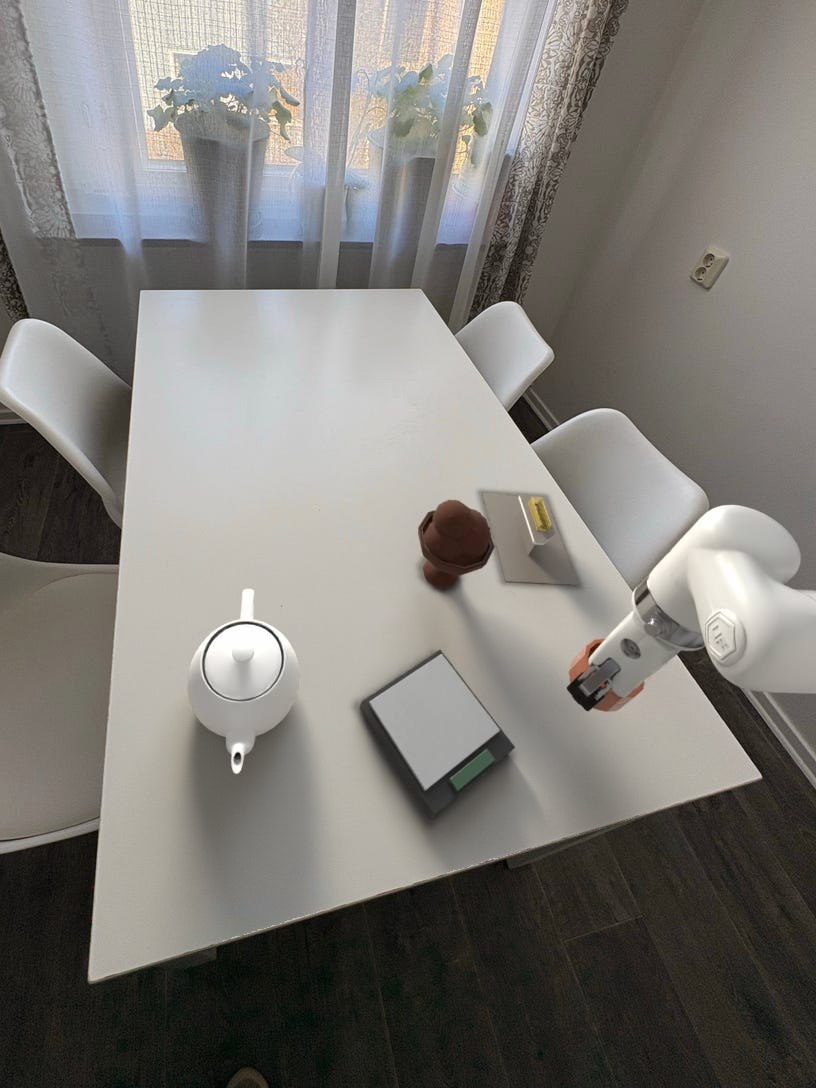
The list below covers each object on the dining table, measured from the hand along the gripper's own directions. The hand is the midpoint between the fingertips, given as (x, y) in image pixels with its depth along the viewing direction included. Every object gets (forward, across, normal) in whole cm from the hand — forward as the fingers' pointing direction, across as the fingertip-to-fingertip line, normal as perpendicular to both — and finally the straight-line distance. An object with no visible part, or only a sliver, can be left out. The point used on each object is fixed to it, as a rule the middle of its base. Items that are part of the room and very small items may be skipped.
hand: (598, 681), depth 64 cm
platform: (+8, +16, +22) cm, 29 cm away
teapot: (+9, -36, +24) cm, 44 cm away
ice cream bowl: (+8, -2, +24) cm, 26 cm away
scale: (+9, -18, +8) cm, 21 cm away
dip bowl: (+1, 0, 0) cm, 1 cm away
